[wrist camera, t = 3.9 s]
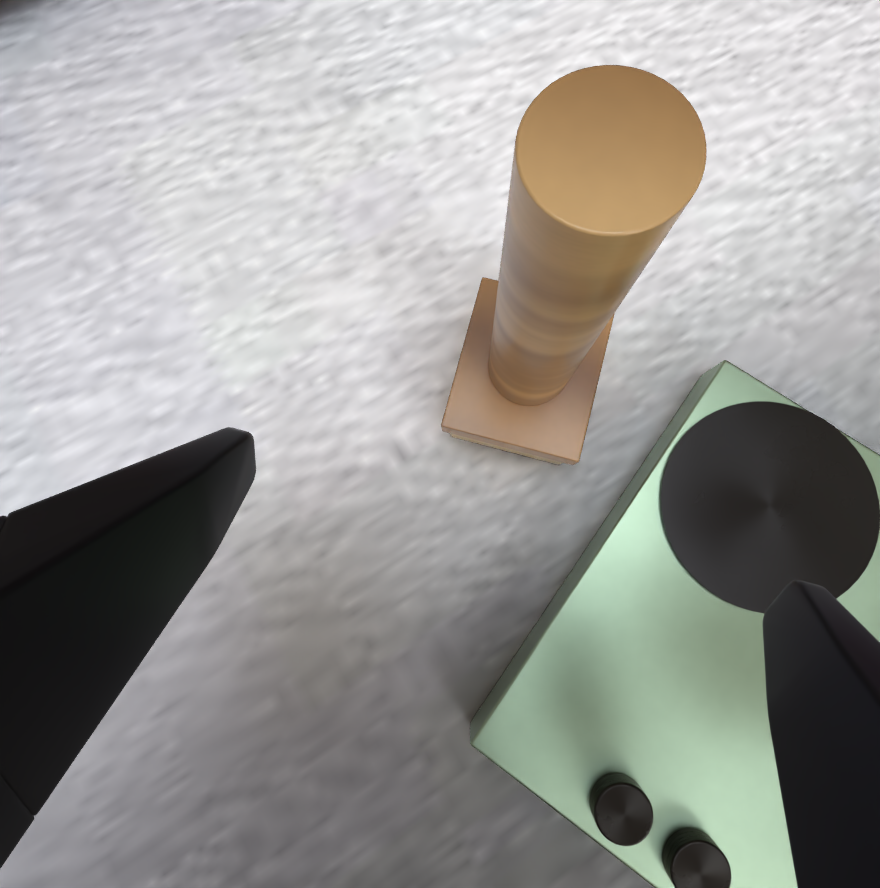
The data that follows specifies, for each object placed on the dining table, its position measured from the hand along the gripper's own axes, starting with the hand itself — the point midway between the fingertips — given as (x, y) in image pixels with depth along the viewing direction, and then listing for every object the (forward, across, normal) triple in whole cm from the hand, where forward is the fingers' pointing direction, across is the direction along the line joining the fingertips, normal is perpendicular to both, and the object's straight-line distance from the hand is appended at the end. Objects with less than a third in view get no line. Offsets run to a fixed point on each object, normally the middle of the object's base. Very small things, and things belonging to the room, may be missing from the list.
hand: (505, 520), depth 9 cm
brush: (+13, 0, +5) cm, 13 cm away
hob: (+6, -13, +11) cm, 18 cm away
